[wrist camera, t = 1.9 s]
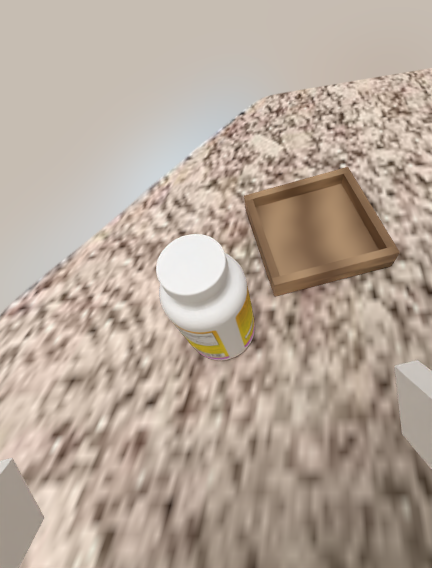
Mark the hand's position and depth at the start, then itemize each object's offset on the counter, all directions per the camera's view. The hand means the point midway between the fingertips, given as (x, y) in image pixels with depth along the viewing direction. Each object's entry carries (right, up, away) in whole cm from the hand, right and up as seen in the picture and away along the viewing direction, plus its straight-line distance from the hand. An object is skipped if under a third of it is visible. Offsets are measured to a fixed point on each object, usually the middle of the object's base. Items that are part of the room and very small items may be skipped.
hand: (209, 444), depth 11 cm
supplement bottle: (+1, +1, +21) cm, 21 cm away
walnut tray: (+11, +11, +24) cm, 29 cm away
